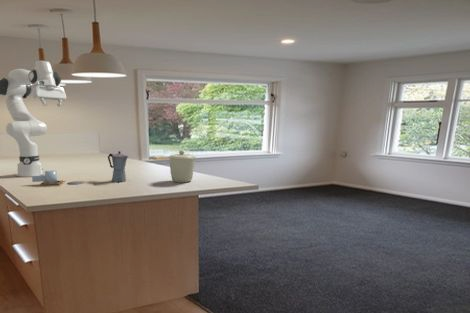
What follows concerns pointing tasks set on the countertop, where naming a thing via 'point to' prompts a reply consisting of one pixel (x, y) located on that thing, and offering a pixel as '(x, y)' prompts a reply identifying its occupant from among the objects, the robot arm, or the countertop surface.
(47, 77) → the robot arm
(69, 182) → the mat
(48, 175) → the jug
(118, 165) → the moka pot
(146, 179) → the countertop surface
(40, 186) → the holder
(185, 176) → the canister
